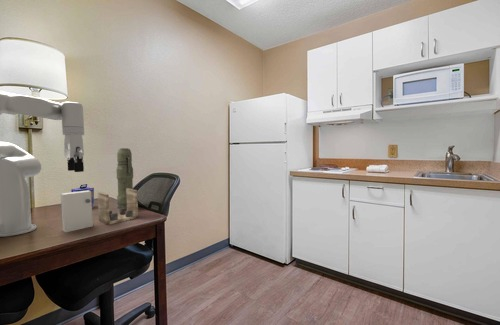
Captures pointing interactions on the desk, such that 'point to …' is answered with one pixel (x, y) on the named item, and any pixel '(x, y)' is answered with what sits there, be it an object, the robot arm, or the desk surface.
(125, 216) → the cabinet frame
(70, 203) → the white rectangular block
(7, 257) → the desk surface
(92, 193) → the ink cartridge box
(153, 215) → the desk surface
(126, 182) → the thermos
